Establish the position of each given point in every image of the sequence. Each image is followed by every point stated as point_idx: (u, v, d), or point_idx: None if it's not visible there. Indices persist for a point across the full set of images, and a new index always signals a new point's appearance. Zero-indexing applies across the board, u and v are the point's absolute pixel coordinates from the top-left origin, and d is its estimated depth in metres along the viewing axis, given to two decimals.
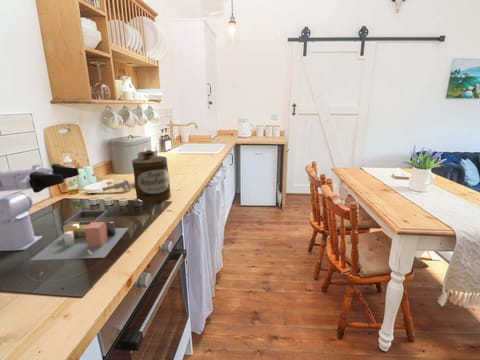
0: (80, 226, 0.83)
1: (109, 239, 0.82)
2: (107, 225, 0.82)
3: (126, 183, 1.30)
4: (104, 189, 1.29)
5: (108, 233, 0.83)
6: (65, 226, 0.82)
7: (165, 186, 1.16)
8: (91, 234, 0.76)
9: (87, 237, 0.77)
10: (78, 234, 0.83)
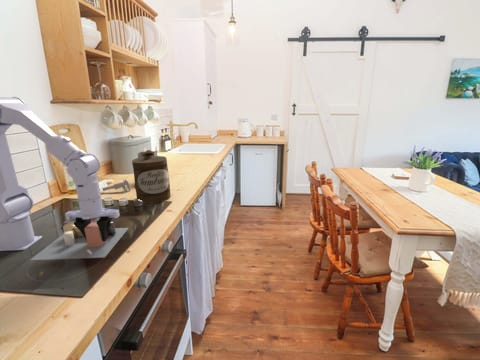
0: None
1: (109, 239, 0.82)
2: None
3: (126, 183, 1.30)
4: (104, 189, 1.29)
5: (108, 233, 0.83)
6: (65, 226, 0.82)
7: (165, 186, 1.16)
8: (91, 234, 0.76)
9: (87, 237, 0.77)
10: (78, 234, 0.83)
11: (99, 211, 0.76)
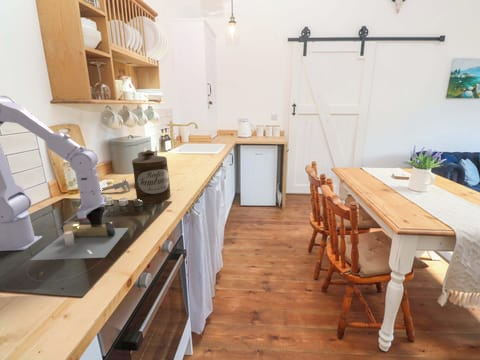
0: (80, 226, 0.83)
1: (109, 239, 0.82)
2: (106, 225, 0.82)
3: (125, 183, 1.30)
4: (103, 189, 1.29)
5: (107, 234, 0.83)
6: (65, 226, 0.82)
7: (165, 186, 1.16)
8: None
9: None
10: (78, 234, 0.83)
11: None
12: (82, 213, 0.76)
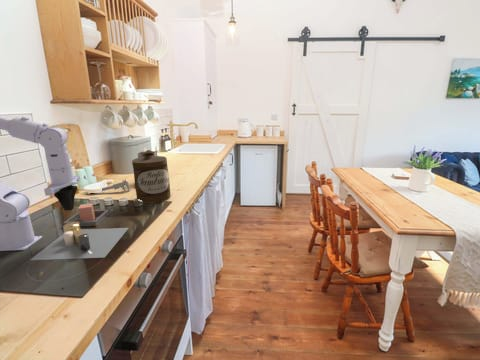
0: (73, 229, 0.81)
1: (109, 239, 0.82)
2: (78, 238, 0.74)
3: (125, 183, 1.30)
4: (103, 189, 1.29)
5: (80, 247, 0.75)
6: (66, 224, 0.83)
7: (165, 186, 1.16)
8: (85, 212, 0.93)
9: (80, 216, 0.93)
10: None
11: None
12: (50, 190, 0.74)
